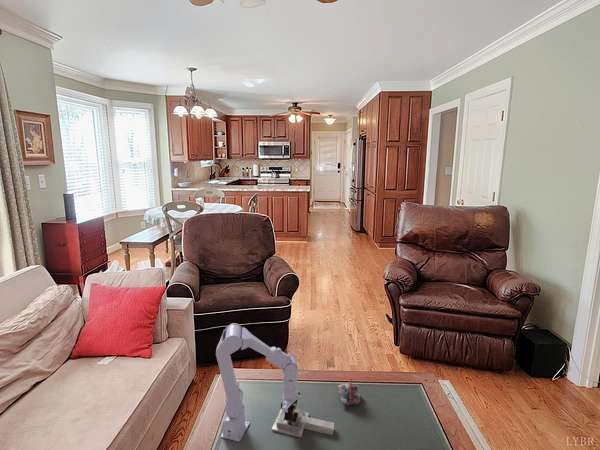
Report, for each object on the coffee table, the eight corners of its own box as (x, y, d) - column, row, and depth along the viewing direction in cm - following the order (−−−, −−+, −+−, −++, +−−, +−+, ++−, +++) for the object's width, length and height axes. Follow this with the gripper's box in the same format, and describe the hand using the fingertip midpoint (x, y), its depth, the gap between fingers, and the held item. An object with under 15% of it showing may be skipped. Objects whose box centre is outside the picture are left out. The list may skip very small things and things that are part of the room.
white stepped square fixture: (330, 444, 131) (330, 437, 131) (271, 430, 138) (271, 424, 137) (336, 420, 143) (336, 414, 142) (282, 408, 149) (281, 402, 148)
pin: (293, 423, 139) (293, 410, 137) (283, 420, 141) (283, 406, 139) (297, 415, 143) (297, 401, 141) (287, 412, 145) (287, 398, 142)
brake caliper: (366, 405, 147) (350, 384, 146) (345, 417, 150) (328, 397, 148) (364, 386, 158) (348, 367, 157) (345, 398, 161) (329, 379, 159)
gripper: (294, 400, 130) (295, 430, 133) (304, 375, 143) (305, 403, 147) (276, 396, 132) (277, 426, 135) (288, 372, 145) (289, 400, 149)
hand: (290, 414), depth 141 cm, fingers closed on pin, 4 cm apart
